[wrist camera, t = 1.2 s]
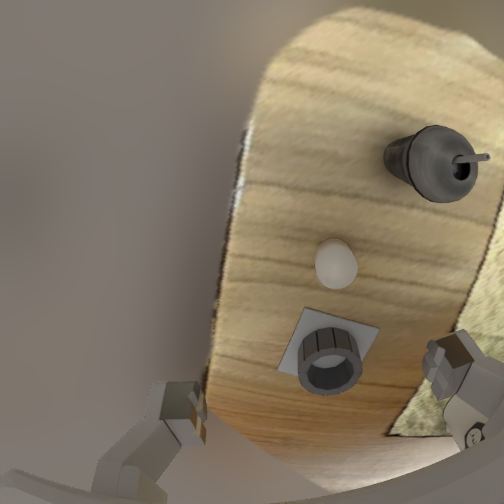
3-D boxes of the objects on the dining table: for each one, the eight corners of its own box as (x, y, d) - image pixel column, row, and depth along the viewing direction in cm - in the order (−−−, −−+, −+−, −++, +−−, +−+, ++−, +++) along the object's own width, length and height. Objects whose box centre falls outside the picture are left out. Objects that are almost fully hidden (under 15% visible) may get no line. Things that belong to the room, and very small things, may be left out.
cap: (356, 245, 38) (364, 257, 34) (342, 279, 40) (348, 294, 36) (321, 233, 38) (325, 243, 34) (308, 268, 40) (310, 282, 36)
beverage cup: (385, 195, 36) (466, 242, 17) (363, 141, 34) (436, 137, 15) (432, 175, 34) (532, 205, 15) (412, 122, 32) (509, 109, 13)
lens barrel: (379, 328, 42) (388, 349, 37) (345, 385, 46) (349, 408, 41) (304, 306, 42) (306, 327, 37) (277, 369, 46) (275, 392, 41)
